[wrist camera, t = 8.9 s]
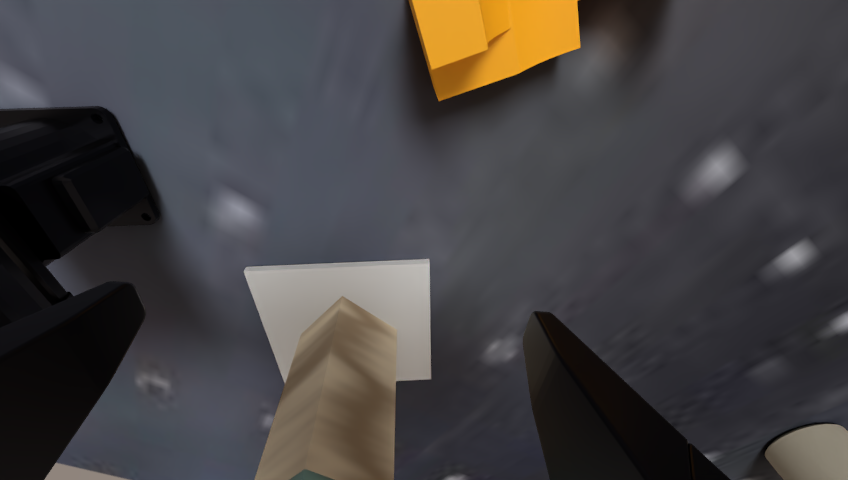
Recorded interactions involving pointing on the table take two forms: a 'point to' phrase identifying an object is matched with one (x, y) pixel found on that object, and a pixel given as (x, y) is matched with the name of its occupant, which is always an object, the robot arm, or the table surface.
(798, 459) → the travel mug
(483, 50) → the pipe clamp
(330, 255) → the table surface
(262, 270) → the grey pad
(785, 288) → the table surface
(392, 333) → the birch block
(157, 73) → the table surface
